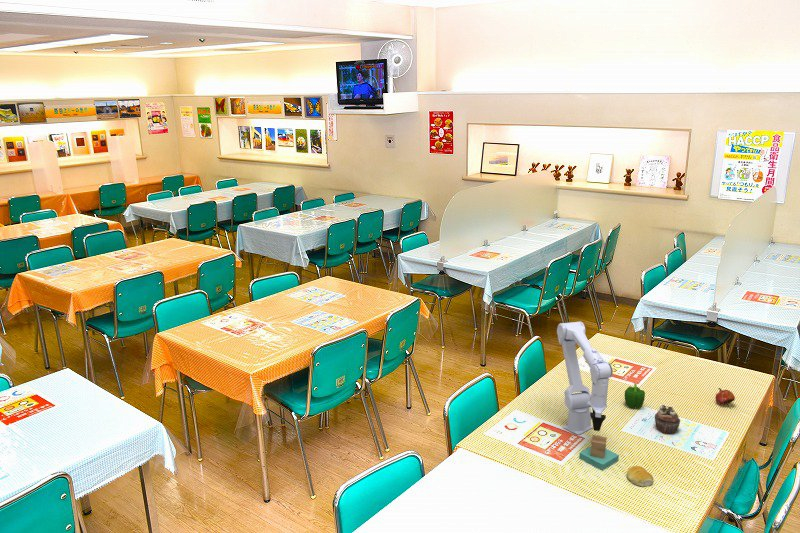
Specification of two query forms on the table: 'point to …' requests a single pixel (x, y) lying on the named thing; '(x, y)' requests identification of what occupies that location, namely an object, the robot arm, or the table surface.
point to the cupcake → (667, 420)
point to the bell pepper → (634, 397)
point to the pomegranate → (724, 397)
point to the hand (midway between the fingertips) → (596, 425)
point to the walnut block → (598, 446)
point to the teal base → (599, 459)
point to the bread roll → (639, 476)
